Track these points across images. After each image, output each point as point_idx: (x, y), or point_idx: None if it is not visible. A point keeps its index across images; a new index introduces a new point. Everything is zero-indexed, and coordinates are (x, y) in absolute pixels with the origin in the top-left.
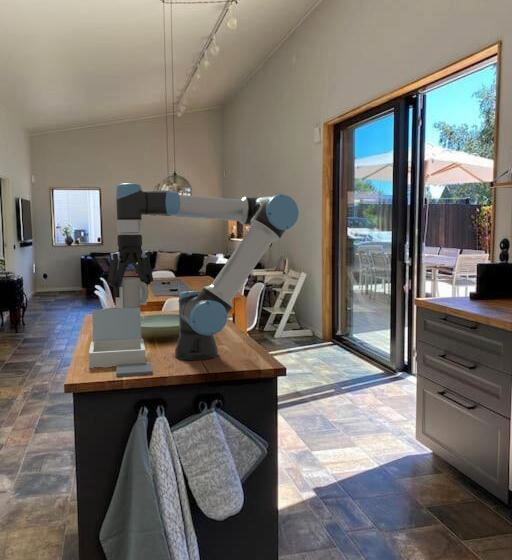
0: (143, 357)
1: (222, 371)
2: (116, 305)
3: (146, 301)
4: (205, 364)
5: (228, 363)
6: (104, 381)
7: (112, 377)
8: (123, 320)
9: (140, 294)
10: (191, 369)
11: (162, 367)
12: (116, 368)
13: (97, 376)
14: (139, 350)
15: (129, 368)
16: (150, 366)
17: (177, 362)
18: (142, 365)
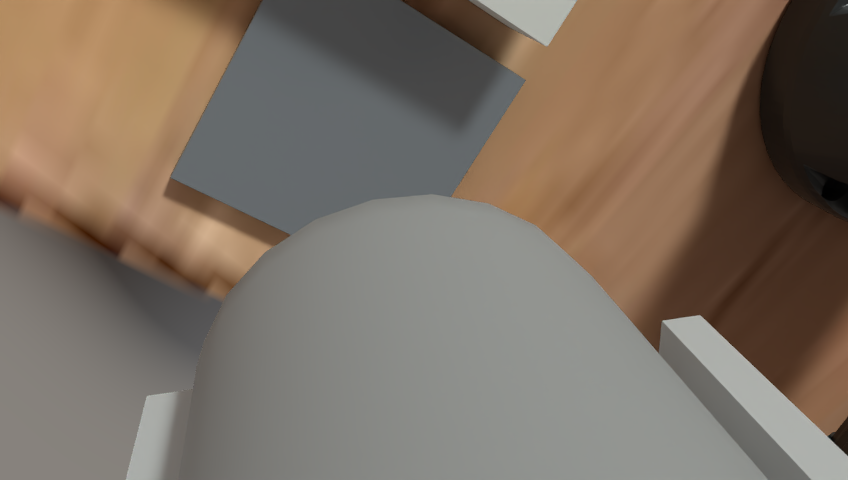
0: (514, 28)
1: None
2: (146, 437)
3: None
4: (745, 293)
5: (827, 355)
6: (54, 214)
7: (144, 164)
8: None
9: (760, 464)
10: None
11: (538, 177)
12: (239, 48)
13: (58, 62)
14: (507, 18)
15: (316, 120)
16: (455, 177)
17: (687, 137)
18: (433, 113)
